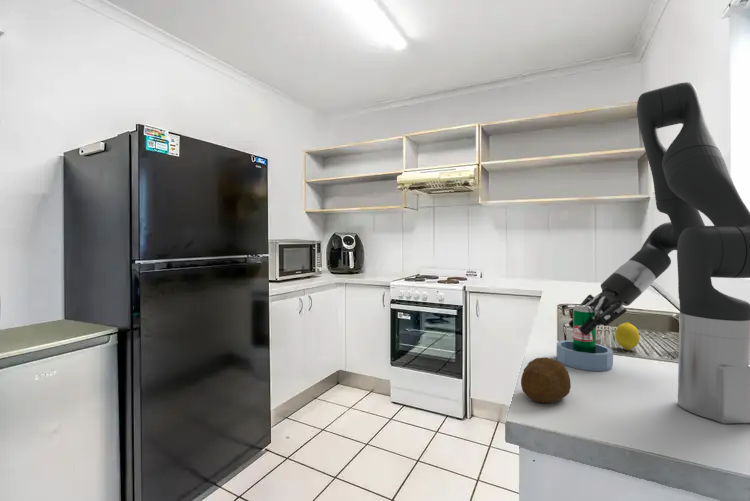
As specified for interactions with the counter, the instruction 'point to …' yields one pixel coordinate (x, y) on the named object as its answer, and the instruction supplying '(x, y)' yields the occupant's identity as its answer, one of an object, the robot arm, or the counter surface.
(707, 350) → the robot arm
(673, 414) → the counter surface
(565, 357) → the bowl
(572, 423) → the counter surface
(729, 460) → the counter surface
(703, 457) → the counter surface
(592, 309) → the soda can
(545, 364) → the potato
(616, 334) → the lemon
